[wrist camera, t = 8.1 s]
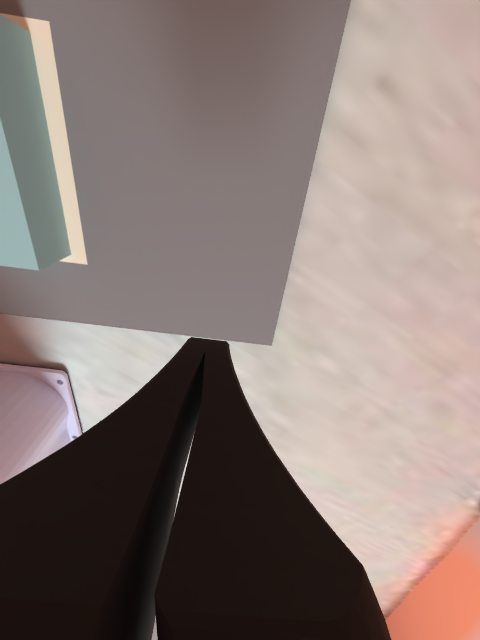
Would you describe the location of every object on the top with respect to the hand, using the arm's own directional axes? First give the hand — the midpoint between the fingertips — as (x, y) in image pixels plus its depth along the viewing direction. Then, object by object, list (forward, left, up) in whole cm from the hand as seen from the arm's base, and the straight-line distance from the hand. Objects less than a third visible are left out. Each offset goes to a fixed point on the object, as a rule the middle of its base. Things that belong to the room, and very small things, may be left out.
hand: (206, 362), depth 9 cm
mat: (+5, +9, -9) cm, 14 cm away
